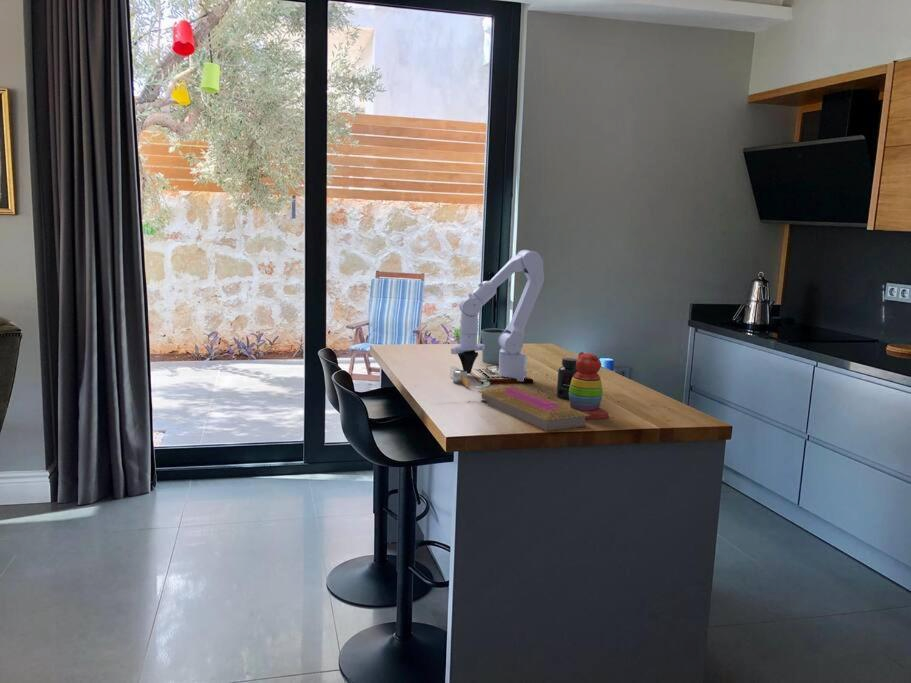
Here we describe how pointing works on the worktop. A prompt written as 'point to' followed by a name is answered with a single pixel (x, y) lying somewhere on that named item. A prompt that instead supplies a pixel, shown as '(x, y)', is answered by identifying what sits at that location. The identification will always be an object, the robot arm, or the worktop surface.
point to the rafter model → (528, 399)
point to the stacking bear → (587, 387)
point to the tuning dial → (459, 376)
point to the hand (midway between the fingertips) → (467, 373)
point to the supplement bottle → (565, 377)
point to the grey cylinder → (491, 345)
